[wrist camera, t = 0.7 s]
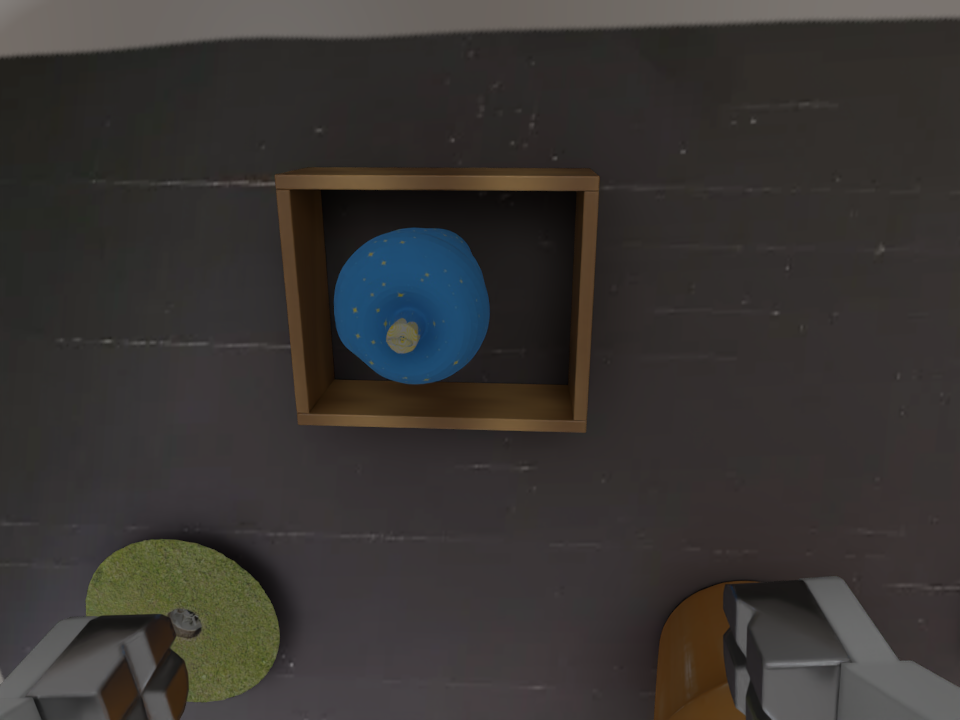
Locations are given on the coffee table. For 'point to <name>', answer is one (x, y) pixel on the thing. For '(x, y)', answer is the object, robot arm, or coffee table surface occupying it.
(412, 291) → the ornament
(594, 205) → the wooden box
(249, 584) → the green flat round disc
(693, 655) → the flower pot
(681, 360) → the coffee table surface
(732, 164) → the coffee table surface
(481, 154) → the coffee table surface
